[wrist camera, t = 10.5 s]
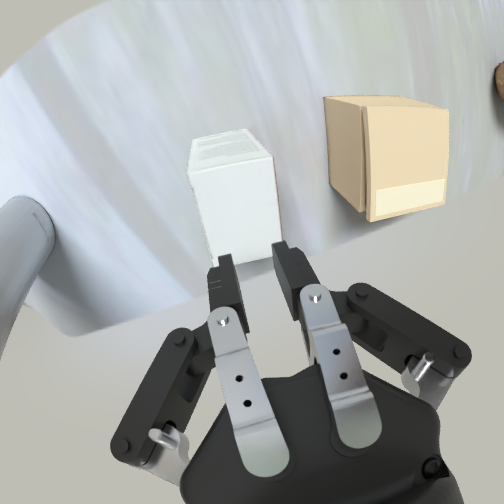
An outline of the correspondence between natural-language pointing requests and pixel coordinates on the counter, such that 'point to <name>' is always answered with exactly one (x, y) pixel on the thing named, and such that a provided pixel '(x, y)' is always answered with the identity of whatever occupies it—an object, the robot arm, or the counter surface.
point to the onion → (500, 79)
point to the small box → (235, 195)
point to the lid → (405, 159)
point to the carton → (353, 142)
